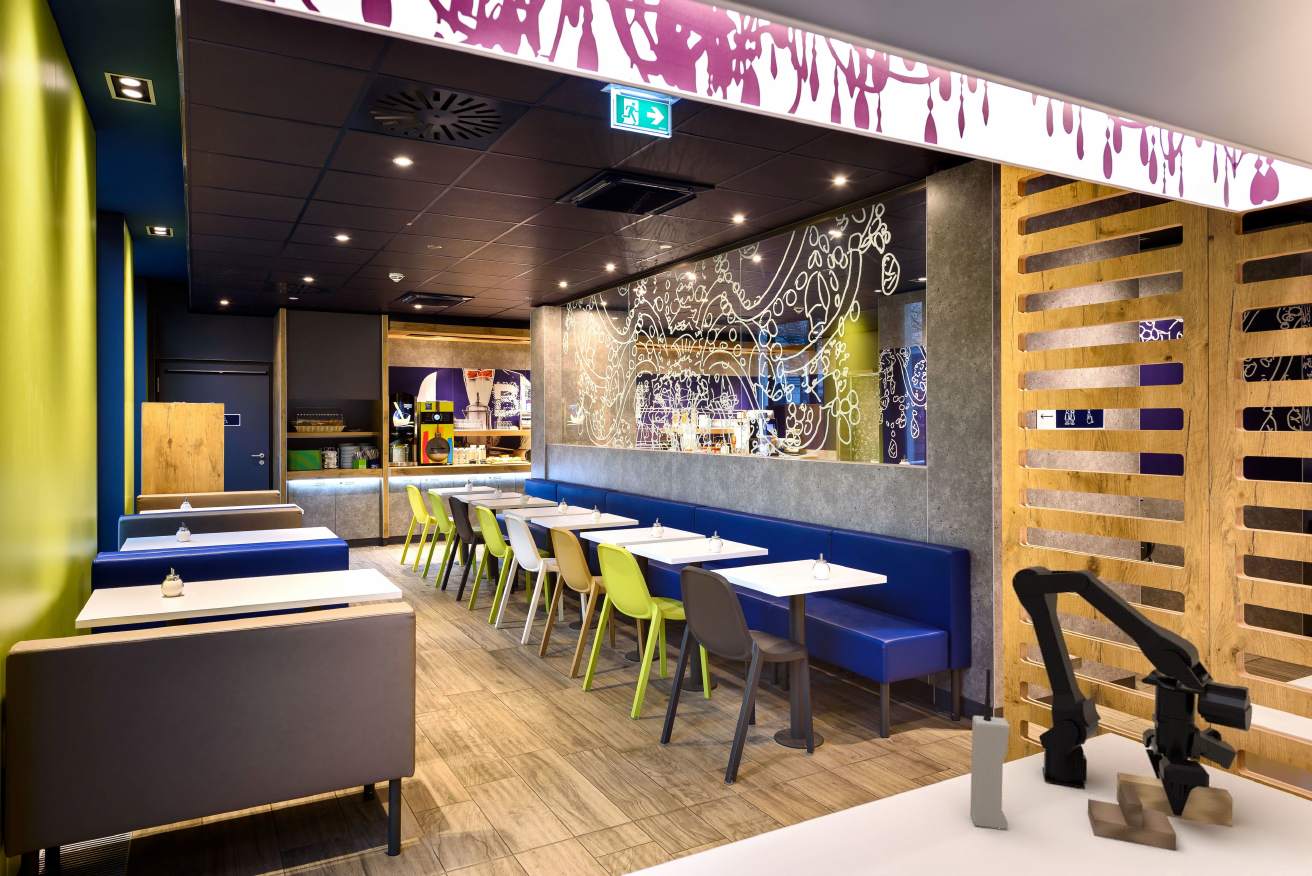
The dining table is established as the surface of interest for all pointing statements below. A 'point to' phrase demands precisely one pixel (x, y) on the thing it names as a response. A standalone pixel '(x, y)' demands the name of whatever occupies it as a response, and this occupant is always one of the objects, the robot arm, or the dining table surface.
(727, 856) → the dining table surface
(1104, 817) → the ridge stand
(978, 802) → the vintage mobile phone
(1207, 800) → the light wooden block
